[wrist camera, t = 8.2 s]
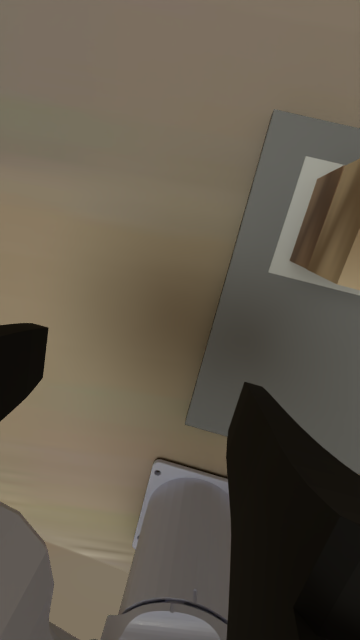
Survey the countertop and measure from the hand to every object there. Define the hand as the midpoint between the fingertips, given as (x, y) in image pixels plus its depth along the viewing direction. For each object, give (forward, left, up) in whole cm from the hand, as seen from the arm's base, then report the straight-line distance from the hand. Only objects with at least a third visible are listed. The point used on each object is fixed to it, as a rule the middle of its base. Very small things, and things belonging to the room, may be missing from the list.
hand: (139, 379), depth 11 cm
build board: (+2, -10, -10) cm, 15 cm away
